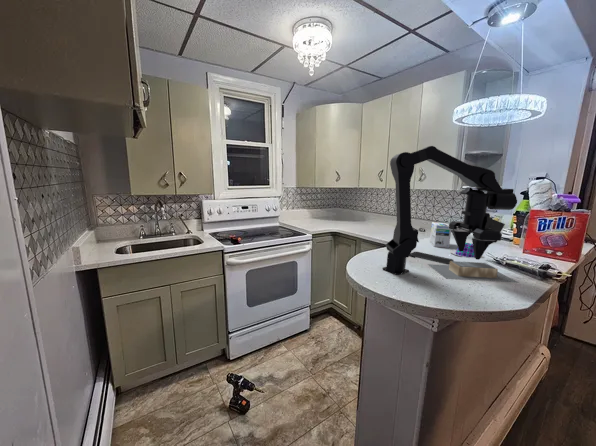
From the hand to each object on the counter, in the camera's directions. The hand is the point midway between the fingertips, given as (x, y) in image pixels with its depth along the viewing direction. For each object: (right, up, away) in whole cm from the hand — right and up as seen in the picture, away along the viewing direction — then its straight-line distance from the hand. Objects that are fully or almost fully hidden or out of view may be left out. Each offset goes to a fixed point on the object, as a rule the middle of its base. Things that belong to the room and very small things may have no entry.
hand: (468, 255), depth 84 cm
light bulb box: (+13, 0, +41) cm, 43 cm away
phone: (-4, -4, +18) cm, 19 cm away
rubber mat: (+1, -7, +2) cm, 7 cm away
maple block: (-4, -5, +1) cm, 6 cm away
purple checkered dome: (+16, -4, +25) cm, 30 cm away
